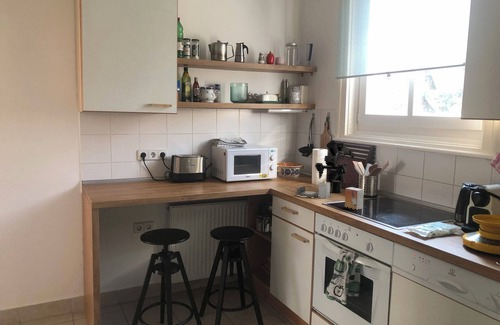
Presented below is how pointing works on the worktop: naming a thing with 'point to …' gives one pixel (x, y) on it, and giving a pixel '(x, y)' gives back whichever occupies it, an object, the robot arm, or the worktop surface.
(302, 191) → the press bed
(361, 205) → the small box
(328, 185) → the housing
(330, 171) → the robot arm
